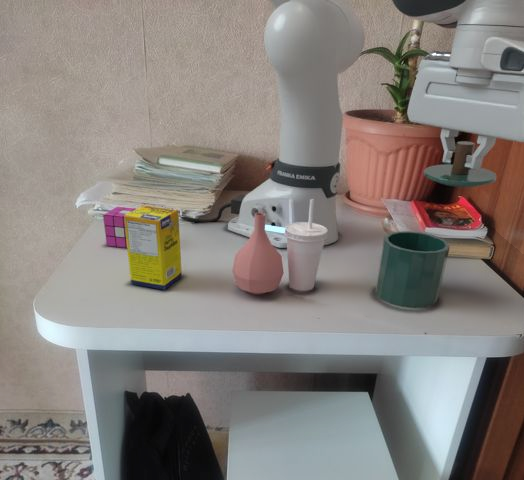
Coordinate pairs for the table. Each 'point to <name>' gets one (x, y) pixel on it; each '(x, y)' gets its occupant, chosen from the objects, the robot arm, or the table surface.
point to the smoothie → (304, 251)
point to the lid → (460, 170)
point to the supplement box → (153, 246)
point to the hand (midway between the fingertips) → (460, 166)
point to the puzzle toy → (116, 226)
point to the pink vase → (258, 262)
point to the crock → (411, 269)
